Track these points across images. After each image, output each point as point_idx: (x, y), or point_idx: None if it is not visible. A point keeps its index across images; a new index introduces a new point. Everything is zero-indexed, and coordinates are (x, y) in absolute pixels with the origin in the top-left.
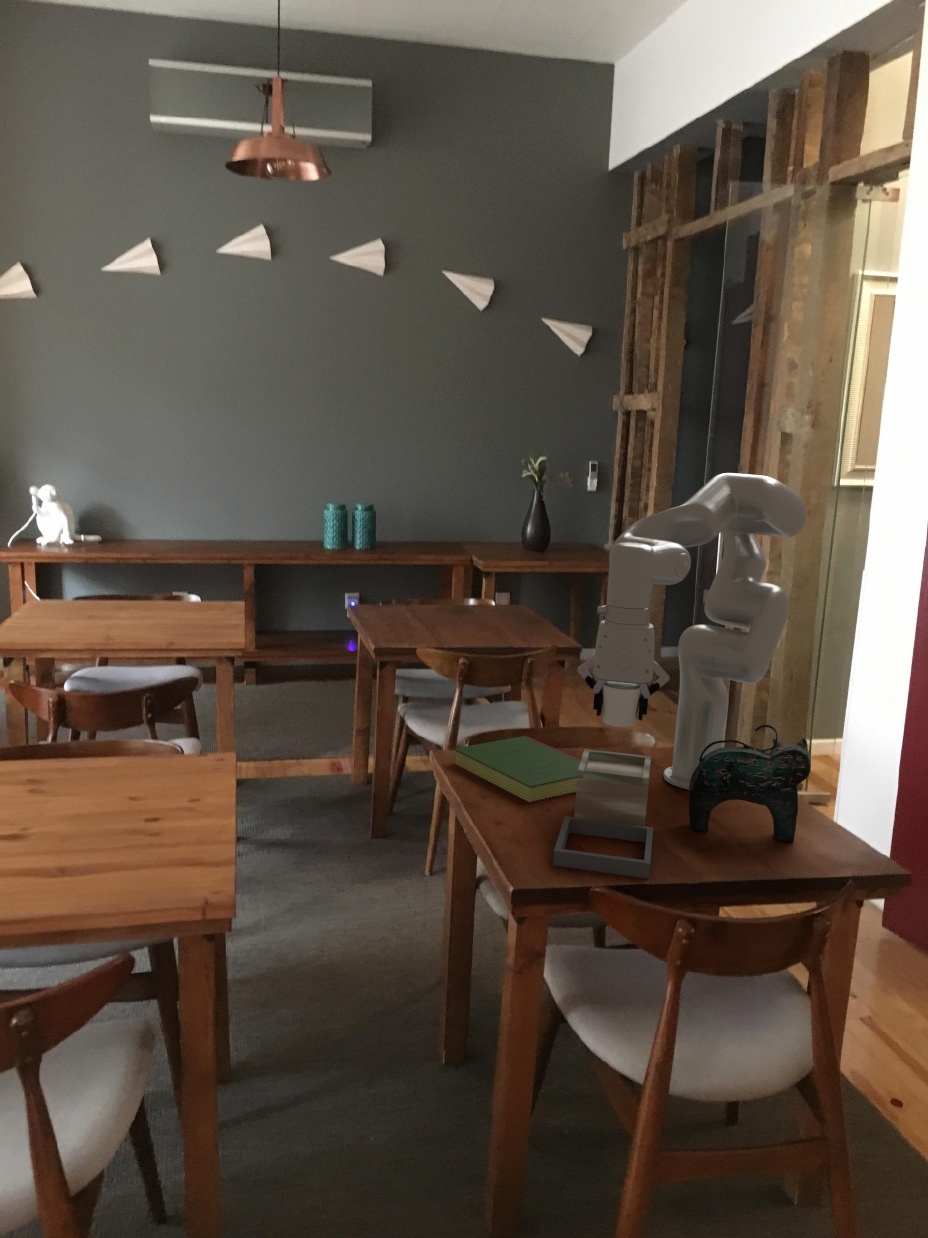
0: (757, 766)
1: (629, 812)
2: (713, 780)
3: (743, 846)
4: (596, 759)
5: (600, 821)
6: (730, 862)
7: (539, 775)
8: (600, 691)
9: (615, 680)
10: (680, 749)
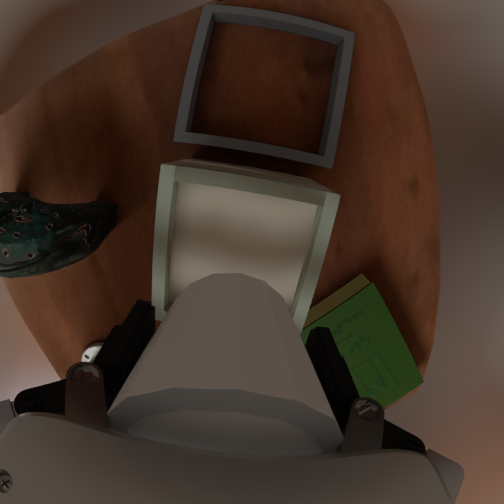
0: None
1: (212, 163)
2: (42, 214)
3: (58, 161)
4: None
5: (269, 151)
6: (82, 99)
7: (348, 329)
8: (339, 415)
9: (291, 460)
10: None
